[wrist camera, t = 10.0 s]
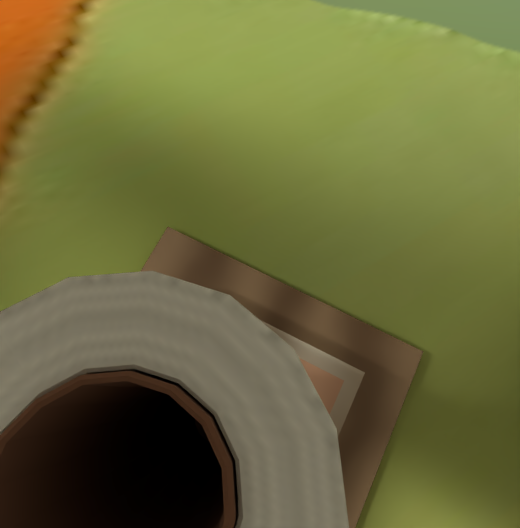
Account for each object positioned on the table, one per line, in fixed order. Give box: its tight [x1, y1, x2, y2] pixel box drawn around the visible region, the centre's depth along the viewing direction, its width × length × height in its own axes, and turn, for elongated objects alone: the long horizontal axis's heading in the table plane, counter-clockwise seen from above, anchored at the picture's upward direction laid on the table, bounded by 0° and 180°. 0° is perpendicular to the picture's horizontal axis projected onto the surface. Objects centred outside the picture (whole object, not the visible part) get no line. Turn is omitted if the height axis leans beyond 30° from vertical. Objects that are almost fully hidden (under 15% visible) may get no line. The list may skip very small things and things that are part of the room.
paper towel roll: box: [0, 271, 349, 528], centre depth 16 cm, size 7×6×21 cm
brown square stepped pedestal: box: [140, 227, 423, 528], centre depth 29 cm, size 22×22×8 cm
